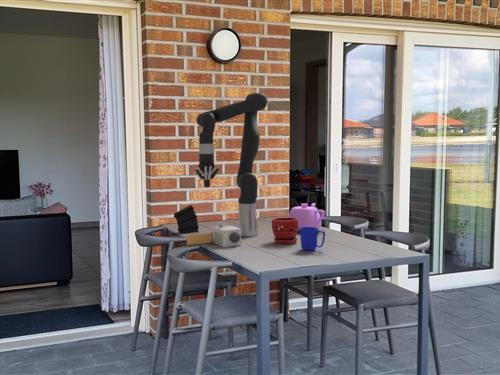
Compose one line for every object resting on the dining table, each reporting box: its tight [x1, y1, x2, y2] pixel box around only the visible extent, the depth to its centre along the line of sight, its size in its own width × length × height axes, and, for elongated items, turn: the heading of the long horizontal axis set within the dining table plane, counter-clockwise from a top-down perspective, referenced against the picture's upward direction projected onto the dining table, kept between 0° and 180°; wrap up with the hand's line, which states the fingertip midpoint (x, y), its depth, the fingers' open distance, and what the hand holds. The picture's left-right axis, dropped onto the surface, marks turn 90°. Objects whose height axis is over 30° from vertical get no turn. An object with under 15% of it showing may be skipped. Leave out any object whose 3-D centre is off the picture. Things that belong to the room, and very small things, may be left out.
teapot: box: [288, 202, 326, 232], centre depth 320 cm, size 23×21×15 cm
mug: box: [299, 227, 326, 252], centre depth 264 cm, size 8×12×10 cm
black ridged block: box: [173, 204, 200, 234], centre depth 315 cm, size 4×13×15 cm, turn 107°
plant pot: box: [271, 216, 299, 245], centre depth 283 cm, size 13×13×12 cm
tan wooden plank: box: [186, 231, 214, 246], centre depth 282 cm, size 2×14×5 cm, turn 120°
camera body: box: [213, 224, 242, 248], centre depth 280 cm, size 9×15×9 cm, turn 25°
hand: (206, 187), depth 289 cm, fingers closed
